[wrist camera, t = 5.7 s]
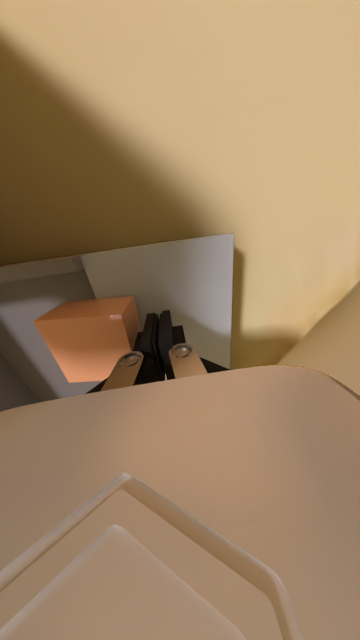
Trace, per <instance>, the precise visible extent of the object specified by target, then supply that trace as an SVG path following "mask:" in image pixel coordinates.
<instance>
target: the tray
mask: <svg viewBox="0 0 360 640" xmlns="http://www.w3.org/2000/svg"><path fill="white" fill-rule="evenodd" d="M92 253H94V252H92ZM85 254H89V253H85ZM85 254H78V255H71V256H64V257H57V258H50V259H43V260H36V261H29V262H22V263H15V264H8V265H1V266H0V412H1V411H4V410H8V409H12V408H15V407H19V406H24V405H29V404H34V403H39V402H44V401H49V400H55V399H61V398H66V397H72V396H78V395H83V394H85V393H87V392H88V391H90V390H91V389H92V388H94V387H95V386H97V385H98V384H99V383H101V382H102V381H88V382H72V383H69V382H68V380H67V378H66V377H65V375H64V373H63V372H62V370H61V368H60V366H59V365H58V363H57V361H56V360H55V358H54V356H53V355H52V353H51V351H50V349H49V348H48V346H47V344H46V343H45V341H44V339H43V337H42V336H41V334H40V332H39V331H38V329H37V327H36V326H35V324H34V322H33V321H34V320H35V319H37V318H39V317H40V316H42V315H44V314H45V313H47V312H49V311H50V310H52V309H54V308H55V307H57V306H59V305H60V304H62V303H64V302H65V301H74V300H87V299H96V297H95V294H94V292H93V289H92V286H91V284H90V281H89V279H88V276H87V274H86V271H85V269H84V266H83V264H82V261H81V259H80V255H85Z"/></svg>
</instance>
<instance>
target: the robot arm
mask: <svg viewBox="0 0 360 640" xmlns="http://www.w3.org/2000/svg"><path fill="white" fill-rule="evenodd" d="M165 374H166V378H167V380H165ZM0 640H360V396H359V395H357V394H356V393H354V392H353V391H352V390H350V389H349V388H348V387H346V386H345V385H343V384H342V383H340V382H339V381H337V380H335V379H334V378H332V377H330V376H328V375H326V374H324V373H322V372H319V371H316V370H313V369H309V368H304V367H297V366H289V365H265V366H255V367H247V368H240V369H233V370H230V369H227V368H225V367H223V366H220V365H218V364H216V363H213V362H211V361H208V360H206V359H204V358H201V357H199V356H198V354H197V352H196V350H195V348H194V347H193V346H192V345H190V344H187V343H186V340H185V335H184V330H183V326H182V325H179V326H173V325H172V320H171V314H170V310H167V311H162V313H160V317H158V314H155V313H148V314H147V316H146V320H145V324H144V329H143V332H138V334H137V337H136V341H135V344H134V348H133V352H129V353H126V354H125V355H123V356H122V357H120V359H119V360H118V361H117V363H116V365H115V367H114V368H113V370H112V372H111V374H110V375H109V377H108V378H106V379H105V380H103V381H102V382H101V383H99V384H98V385H97V386H95V387H94V388H92V389H91V390H90V391H88V392H87V393H85V394H83V395H78V396H72V397H66V398H61V399H55V400H49V401H44V402H39V403H34V404H29V405H24V406H19V407H15V408H12V409H8V410H4V411H1V412H0Z"/></svg>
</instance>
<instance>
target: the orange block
mask: <svg viewBox="0 0 360 640" xmlns="http://www.w3.org/2000/svg"><path fill="white" fill-rule="evenodd" d="M33 322H34V324H35V326H36V327H37V329H38V331H39V332H40V334H41V336H42V337H43V339H44V341H45V343H46V344H47V346H48V348H49V349H50V351H51V353H52V355H53V356H54V358H55V360H56V361H57V363H58V365H59V366H60V368H61V370H62V372H63V373H64V375H65V377H66V378H67V380H68V382H69V383H72V382H88V381H103V380H105V379H106V378H108V377H109V375H110V374H111V372H112V370H113V368H114V367H115V365H116V363H117V361H118V360H119V359H120V357H122V356H123V355H125V354H126V353H129V352H133V348H134V344H135V341H136V337H137V334H138V332H142V329H141V324H140V320H139V316H138V311H137V307H136V302H135V298H134V296H126V297H113V298H100V299H87V300H74V301H65V302H64V303H62V304H60V305H59V306H57V307H55V308H54V309H52V310H50V311H49V312H47V313H45V314H44V315H42V316H40V317H39V318H37V319H35V320H34V321H33Z"/></svg>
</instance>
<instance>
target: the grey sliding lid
mask: <svg viewBox="0 0 360 640" xmlns="http://www.w3.org/2000/svg"><path fill="white" fill-rule="evenodd" d="M233 248H234V233H233V234H217V235H210V236H203V237H196V238H189V239H182V240H175V241H168V242H161V243H154V244H147V245H140V246H133V247H126V248H119V249H112V250H106V251H99V252H94V253H89V254H85V255H80V259H81V261H82V264H83V266H84V269H85V271H86V274H87V276H88V279H89V281H90V284H91V286H92V289H93V292H94V294H95V297H96V299H100V298H113V297H126V296H134V298H135V302H136V307H137V311H138V316H139V320H140V324H141V329H142V332H143V329H144V324H145V320H146V316H147V314H148V313H155V314H158V317H160V313H162V311H167V310H170V314H171V320H172V325H173V326H179V325H182V326H183V330H184V335H185V340H186V343H187V344H190V345H192V346H193V347H194V348H195V350H196V352H197V354H198V356H199V357H201V358H204V359H206V360H208V361H211V362H213V363H216V364H218V365H220V366H223V367H225V368H227V369H230V351H231V317H232V283H233ZM165 376H166V374H165Z"/></svg>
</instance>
